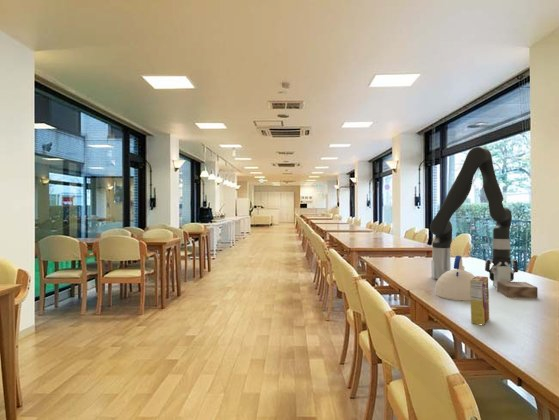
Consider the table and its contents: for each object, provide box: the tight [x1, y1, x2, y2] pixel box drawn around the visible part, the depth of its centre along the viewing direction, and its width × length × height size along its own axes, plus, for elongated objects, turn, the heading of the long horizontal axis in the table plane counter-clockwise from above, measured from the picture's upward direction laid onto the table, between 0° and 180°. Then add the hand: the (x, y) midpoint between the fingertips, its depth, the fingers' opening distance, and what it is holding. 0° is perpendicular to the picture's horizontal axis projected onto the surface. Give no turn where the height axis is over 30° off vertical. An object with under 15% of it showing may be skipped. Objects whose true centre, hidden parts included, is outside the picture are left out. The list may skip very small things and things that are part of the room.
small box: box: [492, 266, 512, 288], centre depth 189 cm, size 8×6×10 cm
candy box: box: [470, 275, 490, 326], centre depth 134 cm, size 9×4×15 cm, turn 140°
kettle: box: [434, 255, 476, 302], centre depth 173 cm, size 20×21×18 cm
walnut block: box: [496, 281, 539, 299], centre depth 173 cm, size 12×12×5 cm
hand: (501, 280), depth 189 cm, fingers open, 8 cm apart
